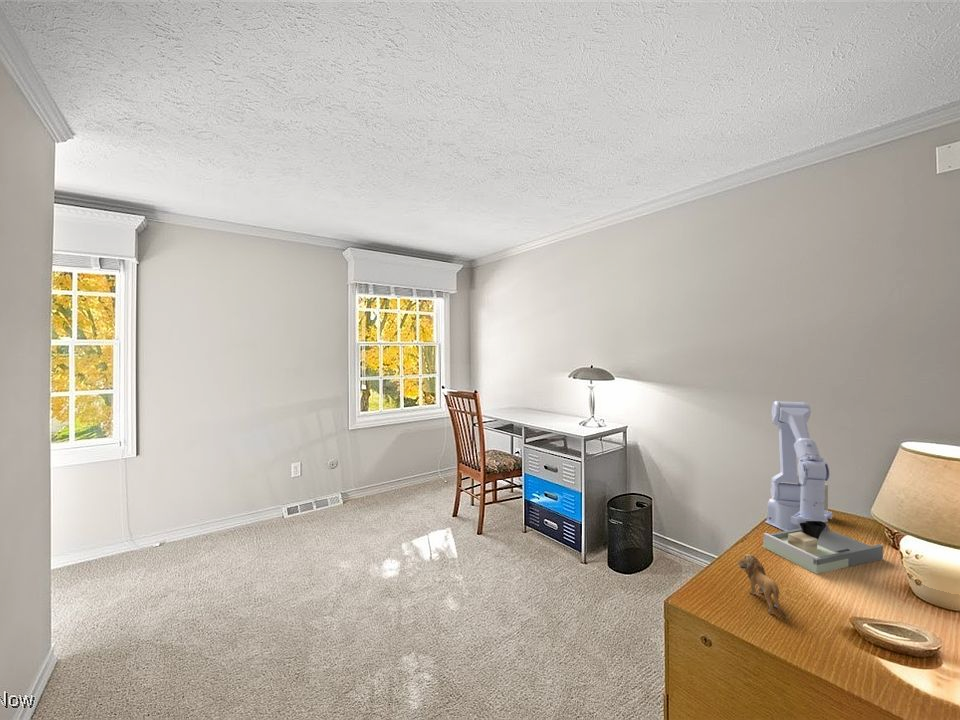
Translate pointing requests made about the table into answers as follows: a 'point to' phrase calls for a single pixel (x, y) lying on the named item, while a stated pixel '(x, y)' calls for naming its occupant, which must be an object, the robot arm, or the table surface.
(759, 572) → the lion figurine
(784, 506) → the robot arm
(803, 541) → the birch block
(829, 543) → the trap box
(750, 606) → the table surface
